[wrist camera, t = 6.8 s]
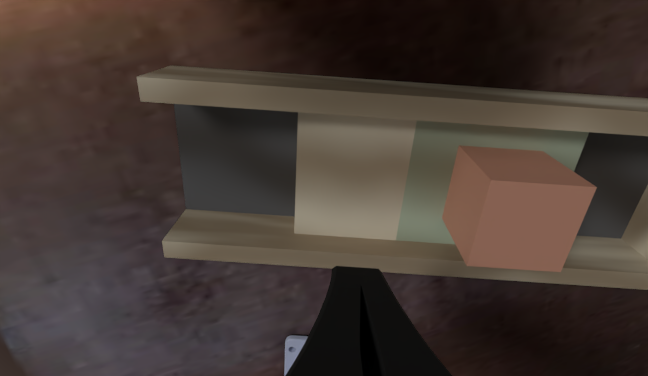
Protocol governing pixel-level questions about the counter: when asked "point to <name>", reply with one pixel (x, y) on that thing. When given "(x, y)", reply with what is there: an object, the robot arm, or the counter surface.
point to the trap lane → (388, 170)
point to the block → (514, 208)
